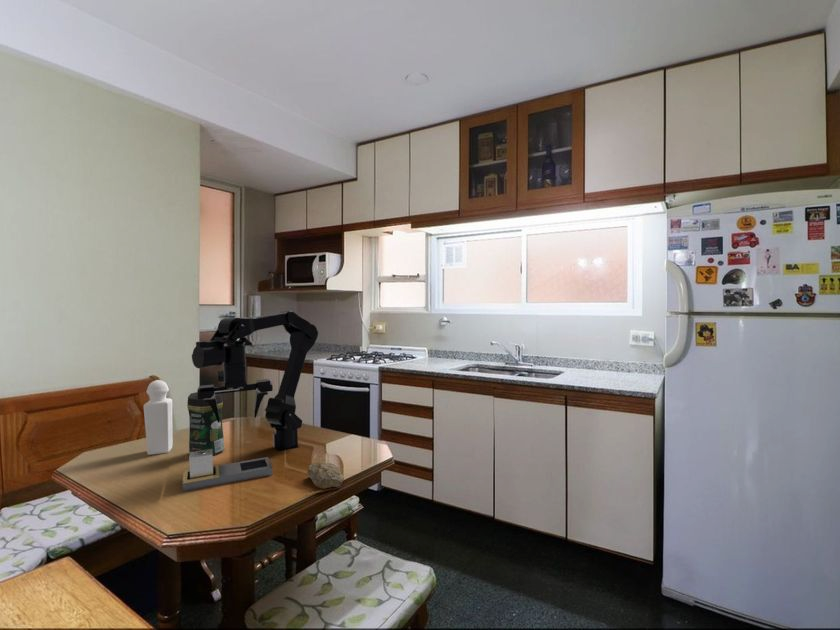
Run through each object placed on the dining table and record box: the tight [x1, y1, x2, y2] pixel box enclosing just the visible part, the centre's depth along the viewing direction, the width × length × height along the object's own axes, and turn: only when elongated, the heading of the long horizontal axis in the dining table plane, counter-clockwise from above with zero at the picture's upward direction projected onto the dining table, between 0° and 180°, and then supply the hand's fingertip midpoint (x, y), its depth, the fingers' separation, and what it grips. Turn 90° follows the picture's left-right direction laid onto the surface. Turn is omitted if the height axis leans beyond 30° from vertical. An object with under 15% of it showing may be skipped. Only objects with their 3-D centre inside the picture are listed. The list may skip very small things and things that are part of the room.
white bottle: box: [143, 379, 173, 456], centre depth 134 cm, size 6×6×22 cm
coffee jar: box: [187, 391, 225, 456], centre depth 131 cm, size 10×8×19 cm
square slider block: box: [188, 449, 214, 479], centre depth 107 cm, size 5×5×7 cm
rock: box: [306, 461, 345, 490], centre depth 106 cm, size 8×11×4 cm
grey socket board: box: [181, 456, 273, 492], centre depth 110 cm, size 20×9×3 cm, turn 116°
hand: (237, 419), depth 120 cm, fingers open, 9 cm apart
